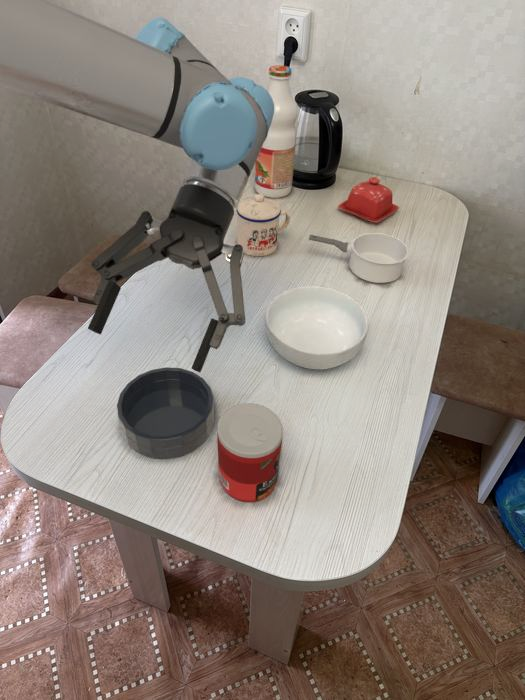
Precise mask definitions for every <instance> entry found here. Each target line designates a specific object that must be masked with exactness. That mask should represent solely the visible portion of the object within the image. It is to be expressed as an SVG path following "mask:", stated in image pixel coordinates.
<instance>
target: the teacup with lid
mask: <svg viewBox="0 0 525 700" xmlns="http://www.w3.org/2000/svg"><path fill="white" fill-rule="evenodd" d="M235 209H236V210H235V211H236V214H237V225H236V227H237V229H236V231H237V232H236V233H237V238H236V242H237V244H239V245H241V246H242V247H243V253H244V255H248V256H253V257H265V256H269V255H271V254H273V253H274V252H275V251H276V250H277V248H278V241H279V234H280V233H283V232H284V231H285V230H286V229H287V228H288V227H289V225H290V222H291V215H290V213H289V211H287V210H285V209H281V206H280V205H279V204H278V202H276V201H275V200H273V199H272V198H269V197H265V196H263V195H262V194H259V193H256V194H255V195H254V197H247V198H245V199H243V200H240V201H239V203H238V206H237V207H236V208H235ZM280 216H285V220H284V222H283V224H282V225H281V226H279V224H280ZM237 244H236V245H237Z"/></svg>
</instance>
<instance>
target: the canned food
mask: <svg viewBox="0 0 525 700" xmlns="http://www.w3.org/2000/svg"><path fill="white" fill-rule="evenodd" d="M217 422H218V423H217V427H216V437H217V439H216V440H217V443H216V444H217V464H218V465H217V467H218V479H219V483H220V485H221V486H222V488H223V490H224V492H226V493H227V495H229V496H230V497H231V498H232V499H235V500H237V501H240V502H243V503H256V502H259V501H262V500H264V499H265V498H267V497H269V496H270V495H271V494H272V492H273V491H274V490H275V488H276V487H277V483H278V479H279V473H280V463H281V456H282V449H283V447H282V446H283V437H284V436H283V435H284V431H283V430H284V429H283V424H282V422H281V419H280V418H279V417H278V415H277V414H276V413H275V412H274V411H273V410H272V409H270V408H268V407H266V406H264V405H262V404H257V403H250V402H249V403H248V402H247V403H244V402H243V403H240V404H236V405H233V406H231V407H229V408H227V409H226V410H225V411H224V412H223V413H222V414H221V415H220V417H219V420H218V421H217Z"/></svg>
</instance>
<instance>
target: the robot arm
mask: <svg viewBox="0 0 525 700" xmlns="http://www.w3.org/2000/svg"><path fill="white" fill-rule="evenodd" d="M0 88H3V89H7V90H9V91H13V92H15V93H18V94H22V95H24V96H28V97H30V98H34V99H36V100H40V101H41V102H42V101H43V102H46V103H49V104H52V105H55V106H57V107H60V108H63V109H65V110H69V111H72V112H75V113H78V114H80V115H84V116H87V117H90V118H94V119H96V120H99V121H101V122H105V123H107V124H111V125H114V126H116V127H119V128H122V129H125V130H128V131H131V132H134V133H137V134H140V135H144V136H147V137H149V138H152V139H156V140H158V141H160V142H164V143H166V144H169V145H172V146H175V147H178V148H181V149H182V150H183V151H184V153H185V154H186V155H187V157H189V158H190V159H191V162H190V164H189V166H188V169H187V171H186V173H185V174H184V177H183V181H182V182H183V185H182V186H180V187H179V190H178V192H177V194H176V197H175V199H174V201H173V204H172V206H171V208H170V211H169V214H168V216H167V217H166V219H165V220H163V221H162V220H160V219H158V218H156V217H154V216H152V214H151V212H150V211H148V210H144V211H143V212H141V214H140V216H139V217H138V218H137V220H136V222H135V224H134V225H133V226H132V227H130V229H128V230H127V231H126V232H124V233H123V234H122V235H121V236H120V237H119V238H117V240H115V241H114V242H113V243H112V244H111V245H109V247H107V248H106V249H105V250H104V251H102V253H100V254H99V255H98V256H97V257H96V258H94V259H93V260H92V261H91V267H92V269H94V270H95V271H96V272H97V273H98V274H100V276H101V280H100V282H99V284H98V286H97V289H96V291H95V293H94V296H93V303H94V304H95V305H97V306H96V309H95V310H94V313H93V316H92V317H91V319H90V320H91V321H90V322H89V324H88V327H87V329H88V330H89V331H92V332H93V333H95V334H97V335H102V333H103V331H104V328H105V327H106V324H107V321H108V319H109V316H110V315H111V312H112V310H113V308H114V305H115V303H116V301H117V298H118V296H119V295H120V291H121V289H122V287H121V286H120V285H119V284H117V283H119V282H122V281H123V280H124V279H126V278H129V277H131V276H132V275H134V274H136V273H138V272H140V271H141V270H143V269H145V268H147V267H149V266H152V265H153V264H155V263H158V262H160V261H161V262H163V260H166V259H167V258H168V259H169V260H170V261H171V262H172V263H175V264H178V265H184V266H186V267H187V268H188V269H191V270H195V269H196V270H197V269H201V271H202V273H203V277H204V279H205V282H206V285H207V288H208V291H209V295H210V296H211V300H212V302H213V305H214V309H215V312H216V314H217V317H218V319H216V318H212V317H211V318H210V320H209V323H208V326H207V328H206V330H205V334H204V335H203V338H202V340H201V343H200V346H199V348H198V350H197V353H196V356H195V358H194V361H193V363H192V366H191V369H192V370H194V371H195V372H198V373H201V372H202V370H203V368H204V365H205V363H206V360H207V357H208V355H209V352H210V350H211V348H212V349H215V350H218V349H219V348H220V347H221V344H222V343H223V339H224V337H225V334H226V332H227V330H228V328H229V327H230V326H239V327H243V326H244V325H245V324H246V314H245V313H246V311H245V302H244V291H243V280H242V270H241V268H242V264H243V260H244V256H245V253H243V247H242V246H241V245H239V244H235V245H229V244H225V243H224V242H225V238H226V235H227V233H228V231H229V228H230V225H231V224H232V220H233V218H234V215H235V209H237V206H238V204H239V203H240V202H241V198H242V196H243V193H244V192H245V189H246V186H247V184H248V180H249V178H250V176H251V175H252V174H251V173H252V172H253V169H254V168H255V162H256V159H257V157H258V155H259V152H260V150H261V148H262V145H263V143H264V141H265V140H266V138H267V136H268V131H269V128H270V125H271V122H272V119H273V115H274V102H273V100H272V97H271V95H270V94H269V93H268V91H267V90H268V89H266V88H265V87H264V86H263V85H258V84H257V83H256V82H255V81H254V80H253V79H250V78H247V77H243V76H236V77H232V78H229V79H228V78H227V77H226V76H225V75H224V74H223V73H221V71H220V70H219V69H218V68H216V67H215V65H214V64H213V63H212V62H211V61H210V60H209V59H207V57H206V56H204V55H203V53H202V52H201V51H200V50H199V49H198V48H197V47H196V46H195V45H194V44H193V43H192V41H190V40H189V39H188V38H187V37H186V35H185V33H183V32H182V31H180V30H179V29H178V28H176V26H175V25H173V24H172V23H171V22H170V21H169V19H167V18H164V17H162V16H161V17H155V18H153V19H151V20H149V21H148V22H147V23H146V24H145V25H143V27H142V28H141V29H140V30H139V32H138V33H137V34H136V35H135V37H132V36H131V35H128V34H127V33H126V34H125V33H123V32H121V31H119V30H117V29H114V28H112V27H110V26H108V25H106V24H103V23H101V22H98V21H96V20H94V19H92V18H90V17H87V16H85V15H82V14H81V13H78V12H77V11H75V10H71V9H69V8H68V7H67V8H66V7H65V6H63V5H61V4H58V3H56V2H53V1H51V0H0ZM158 231H159V233H160V238H159V239H157V240H155V241H153V242H151V243H150V245H148V246H147V247H145V248H143V249H142V250H139V251H138V252H136V253H134V254H132V255H131V256H128V255H129V254H130V253H131V252H132V251H134V250H135V249H136V248H137V247H138V246H139V245H141V244H142V243H143V242H144V241H145V240H146V239H147V238H148V237H149V235H150V236H151V235H154V234H155V233H156V232H158ZM221 255H224V256H225V257H224V258H225V261H226V263H227V264H229V272H230V273H229V274H230V284H231V295H232V305H233V307H232V308H233V312H228V310H227V306H226V304H225V301H224V299H223V296H222V293H221V289H220V286H219V284H218V281H217V278H216V274H215V272H214V270H213V266H212V264H211V262H212V261H213V260H215V259H216V258H219V257H220V256H221ZM127 256H128V257H127ZM125 257H127V258H125Z"/></svg>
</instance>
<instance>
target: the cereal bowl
mask: <svg viewBox="0 0 525 700" xmlns="http://www.w3.org/2000/svg"><path fill="white" fill-rule="evenodd" d="M368 320H369V319H368V315H367V313H366V311H365V309H364V308H363V306H362V305H361V304H360V303H359V302H358V301H357V300H356V299H354V298H353V297H351V296H350V295H349V294H347V293H345V292H343V291H340V290H338V289H334V288H331V287H327V286H319V285H318V286H317V285H303V286H297V287H293V288H289V289H287V290H284V291H283V292H281V293H279V294H277V295H275V297H273V299H272V300H271V301H270V303H269V304H268V306H267V308H266V311H265V323H264V324H265V325H264V326H265V330H266V335H267V339H268V341H269V343H270V344H271V346H272V348H273V349H274V350H275V351H276V353H277V354H278V355H280V357H282V358H283V359H284V360H286V361H288V362H289V363H291V364H293V365H296V366H297V367H301V368H305V369H310V370H311V369H312V370H326V369H327V370H328V369H332V368H336V367H339V366H341V365H344V364H345V363H348V361H350V360H351V359H353V358H354V357H356V355H357V354H358V353H359V352H360V351H361V349H362V347H363V345H364V344H365V341H366V338H367V335H368V330H369V321H368Z"/></svg>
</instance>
